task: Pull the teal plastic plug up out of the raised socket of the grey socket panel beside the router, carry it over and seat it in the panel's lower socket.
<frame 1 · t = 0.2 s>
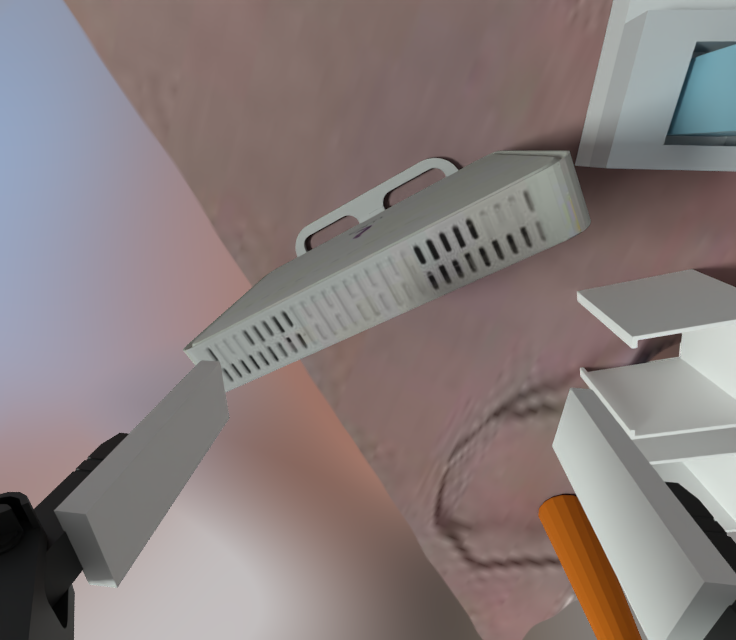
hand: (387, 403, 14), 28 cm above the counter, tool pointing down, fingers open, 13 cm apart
spray bottle: (552, 504, 53), on the counter
network device: (381, 232, 39), on the counter
storage container: (628, 376, 44), on the counter
plug: (697, 101, 29), point 3 cm above the counter, touching panel
panel: (704, 3, 29), on the counter
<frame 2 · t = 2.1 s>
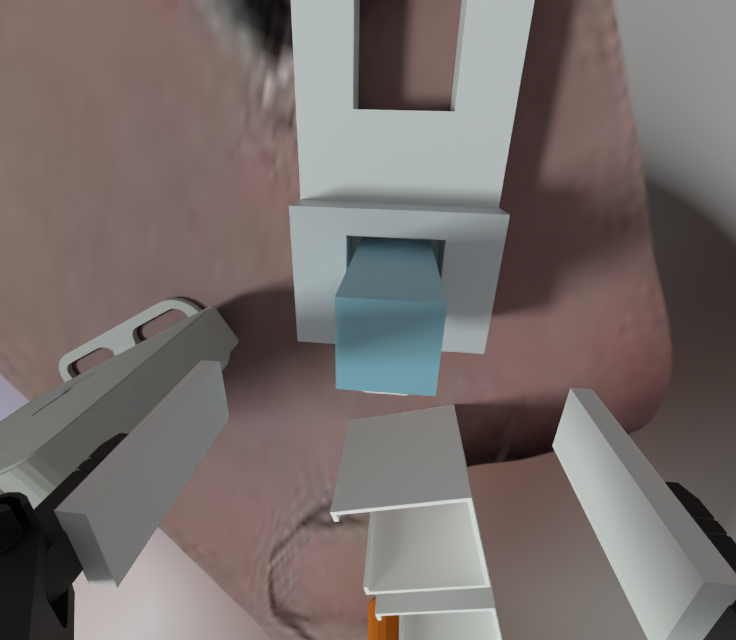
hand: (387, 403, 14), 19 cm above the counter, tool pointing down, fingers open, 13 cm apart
spray bottle: (381, 601, 52), on the counter
network device: (145, 360, 38), on the counter
storage container: (423, 494, 43), on the counter
plug: (393, 271, 28), point 3 cm above the counter, touching panel
panel: (400, 170, 28), on the counter
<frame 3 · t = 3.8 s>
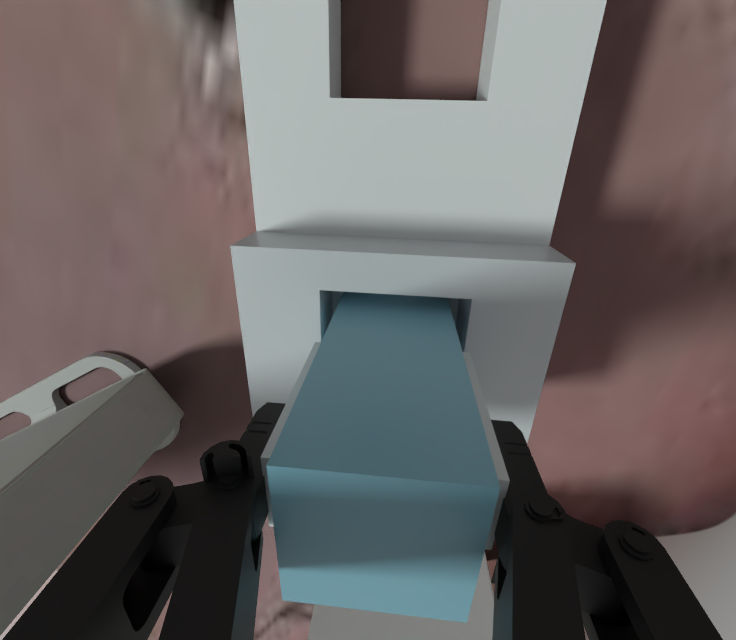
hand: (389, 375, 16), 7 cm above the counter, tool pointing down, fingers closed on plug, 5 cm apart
network device: (74, 426, 30), on the counter
storage container: (430, 587, 34), on the counter
plug: (392, 331, 20), point 3 cm above the counter, touching gripper, panel
panel: (402, 188, 20), on the counter
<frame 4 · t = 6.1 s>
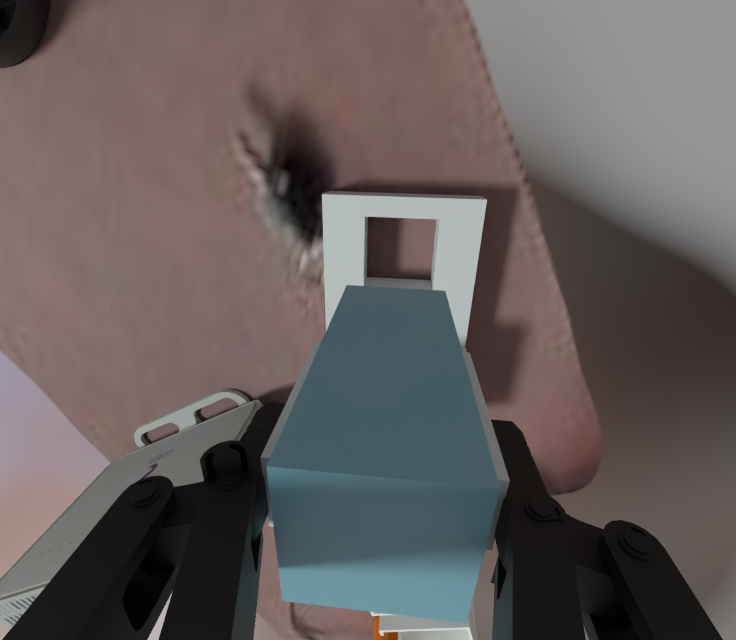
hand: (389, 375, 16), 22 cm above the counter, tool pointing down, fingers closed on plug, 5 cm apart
spray bottle: (384, 618, 63), on the counter
network device: (201, 431, 49), on the counter
storage container: (417, 532, 54), on the counter
plug: (392, 331, 20), point 18 cm above the counter, touching gripper
panel: (396, 312, 39), on the counter
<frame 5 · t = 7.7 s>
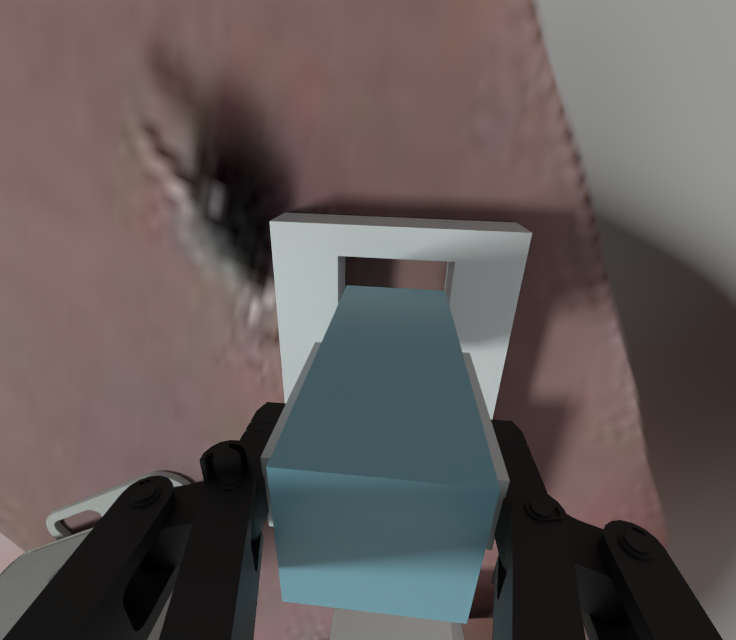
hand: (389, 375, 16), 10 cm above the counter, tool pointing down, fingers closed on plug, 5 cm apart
network device: (133, 518, 38), on the counter
storage container: (416, 636, 42), on the counter
plug: (392, 332, 20), point 5 cm above the counter, touching gripper
panel: (388, 382, 27), on the counter
when the fingers open (5 cm above the counter, at t = 8.8 s): plug drops 1 cm, resting in panel.
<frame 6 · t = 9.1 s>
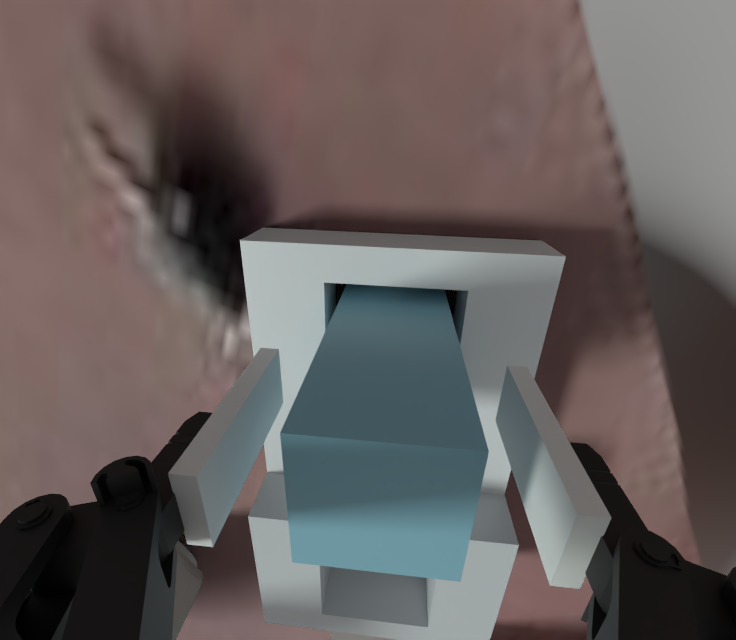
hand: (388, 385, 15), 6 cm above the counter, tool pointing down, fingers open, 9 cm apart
network device: (103, 561, 34), on the counter
plug: (393, 323, 21), resting in panel
panel: (387, 422, 24), on the counter
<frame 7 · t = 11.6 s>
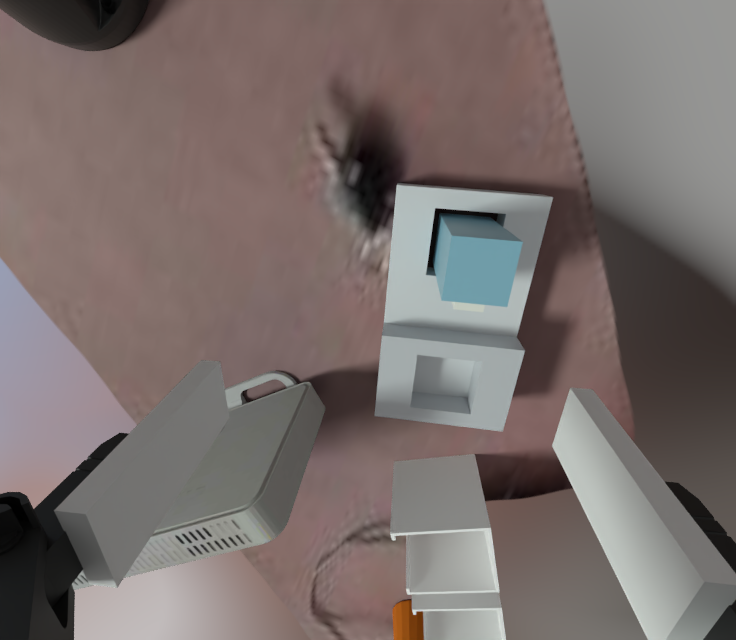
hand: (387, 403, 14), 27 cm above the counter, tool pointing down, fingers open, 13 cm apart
spray bottle: (403, 605, 64), on the counter
network device: (244, 412, 51), on the counter
storage container: (445, 519, 55), on the counter
plug: (460, 239, 38), resting in panel
panel: (449, 302, 41), on the counter
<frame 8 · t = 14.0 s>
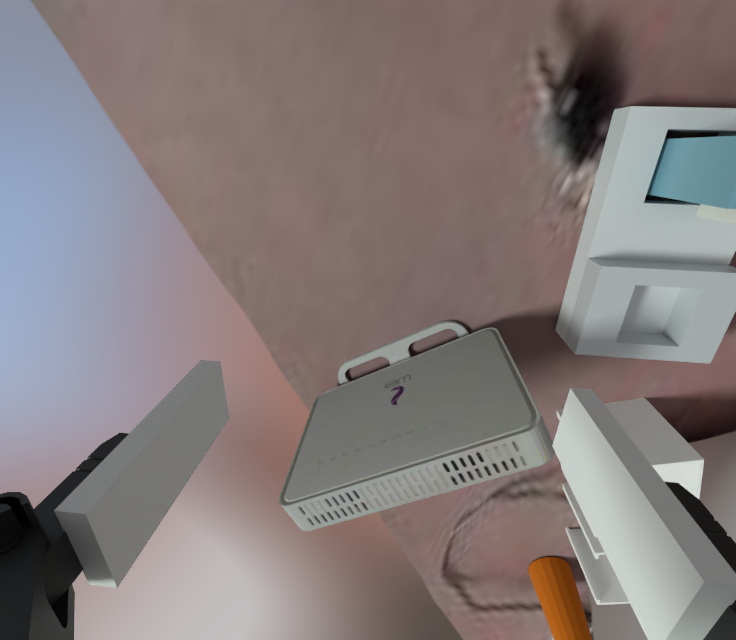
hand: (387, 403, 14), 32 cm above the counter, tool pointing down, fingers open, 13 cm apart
spray bottle: (540, 563, 64), on the counter
network device: (406, 366, 50), on the counter
storage container: (599, 469, 55), on the counter
plug: (670, 167, 38), resting in panel
panel: (647, 236, 40), on the counter
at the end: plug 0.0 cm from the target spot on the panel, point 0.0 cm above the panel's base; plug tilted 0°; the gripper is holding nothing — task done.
